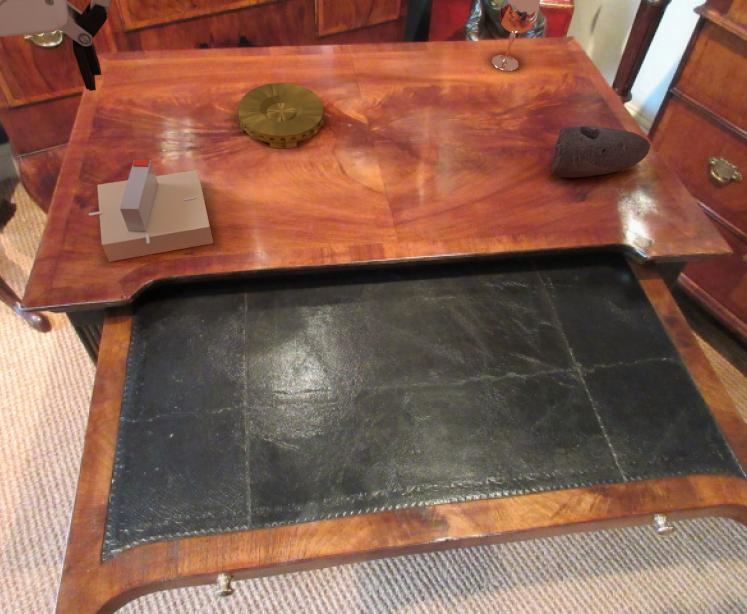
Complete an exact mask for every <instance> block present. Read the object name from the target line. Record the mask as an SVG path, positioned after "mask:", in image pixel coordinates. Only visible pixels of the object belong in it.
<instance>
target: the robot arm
mask: <svg viewBox="0 0 747 614" xmlns="http://www.w3.org/2000/svg"><path fill="white" fill-rule="evenodd" d="M111 4H112V0H90V2H89V3H88V4H87V6H86V7H85V8H84V9H83V11H82V10H80V9H79V8H77V7H76V6H75V5H73V4H72V3H71V2H70V1H68V0H0V38H5V37H6V38H7V37H17V36H18V37H19V36H30V35H41V34H48V33H53V32H57V31H59V30H60V31H61V32H62V33H64V34H65V35H66V36H68V37H69V38H71V40H72V51H73V55H74V58H75V60H76V63H77V66H78V69H79V72H80V74H81V78H82V81H83V83H84V87H85V89H86V90H88V91H89V92H93V91H97V87H96V86H97V85H96V76H102V68H101V64H100V61H99V57H98V54H97V51H96V47H95V43H94V38H95V36H97V34H98V32H99V31H100V30H101V29H102V27H103V26H104V25H105V23H106V22H107V20H108V14H109V10H110V8H111Z"/></svg>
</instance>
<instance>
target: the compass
mask: <svg viewBox="0 0 747 614" xmlns="http://www.w3.org/2000/svg"><path fill="white" fill-rule="evenodd" d="M237 107H238V108H237V112H238V120H239V126H240V129H241V132H242V133H244V132H245V133H246V134H248V136H250V137H253V138H254V139H256V140H258V141H261V142H264V143H268V144H269V148H272V149H293V148H297V147H298V143H299V142H302V141H305V140H307V139H309V138H311V137H313V136H314V135H315V134H317V132H319V130H321V128H323V127H324V122H325V121H324V120H325V119H324V113H325V112H324V109H325V108H324V104H323V101H322V100H321V98H320V97H319V96H318V95H317V94H316V93H315V92H314V91H312V90H311V89H309V88H307V87H305V86H302V85H299V84H295V83H288V82H273V83H267V84H262V85H259V86H256V87H255V88H252V89H250V90H249V91H248V92H246V93H245V94H244V95H243V96H242V98H241V99H240V100H239V102H238V106H237Z"/></svg>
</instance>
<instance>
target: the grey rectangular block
mask: <svg viewBox="0 0 747 614" xmlns="http://www.w3.org/2000/svg"><path fill="white" fill-rule="evenodd" d="M156 176H157V175H156V172H155V169H154V166H153V162H152V159H151V160H150V159H137V158H136V159H135V158H134V159H133V162H132V166H131V169H130V172H129V175H128V179H127V180H128V182H127V186H126V189H125V192H124V196H123V199H122V203H121V206H120V210H121V213H122V216H123V218H124V221H125V223H126V226H127V229H128V231H146V228H147V224H148V220H149V216H150V212H151V208H152V204H153V200H154V196H155V192H156V188H157V184H158V182H157V179H156Z"/></svg>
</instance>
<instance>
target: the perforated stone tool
mask: <svg viewBox="0 0 747 614" xmlns="http://www.w3.org/2000/svg"><path fill="white" fill-rule="evenodd" d="M650 150H651V143H650V142H649V140H647V138H645V137H644V136H642V135H640V134H638V133H636V132H632V131H629V130H626V129H619V128H610V127H602V126H590V125H582V126H570V127H561V128H560V131H559V133H558V137H557V139H556V142H555V144H554V155H553V156H552V159H551V172H552V175H553V176H554V177H561V178H573V179H574V178H575V179H577V178H586V177H596V176H602V175H607V174H613V173H618V172H622V171H624V170H627V169H630V168H631V167H634V166H635V165H637V164H639V163H640V162H641V161H643V160H644V159H645V158H646V157H647V156H648V155H649V152H650Z"/></svg>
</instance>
